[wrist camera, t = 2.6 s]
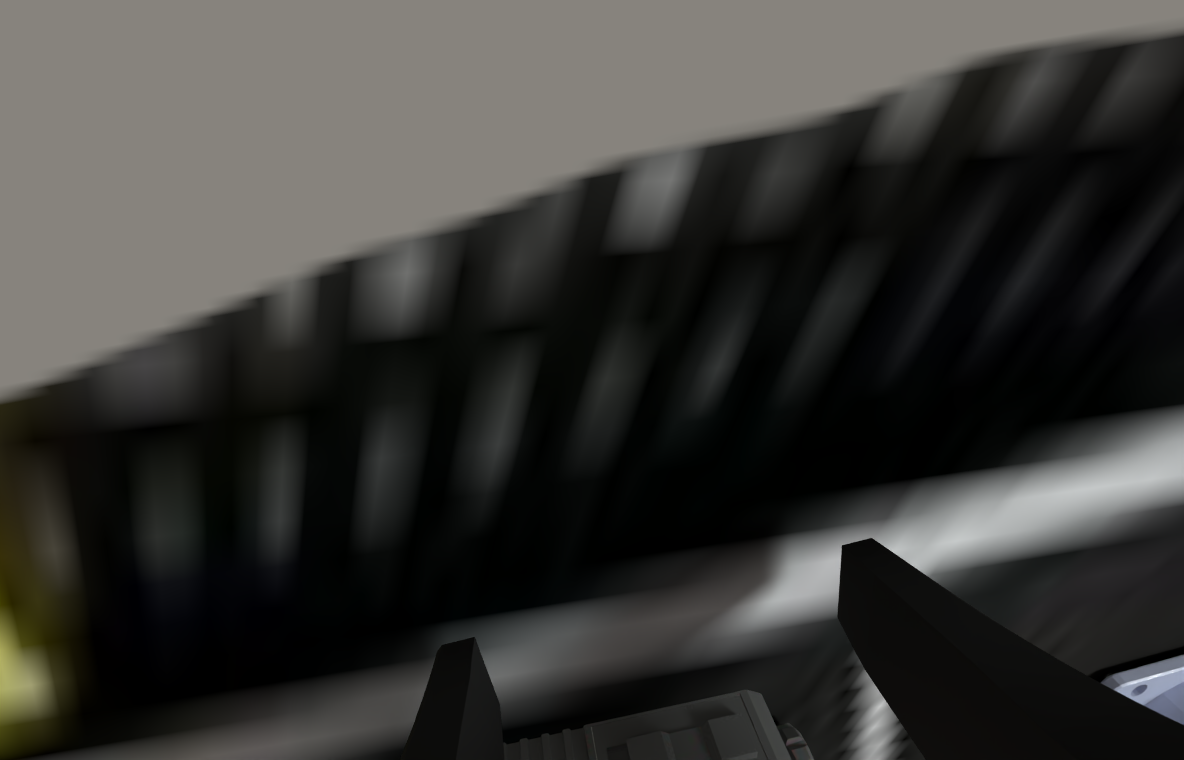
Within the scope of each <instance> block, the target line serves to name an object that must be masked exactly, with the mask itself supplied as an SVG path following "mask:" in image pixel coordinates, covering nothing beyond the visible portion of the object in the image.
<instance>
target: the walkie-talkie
mask: <svg viewBox="0 0 1184 760" xmlns="http://www.w3.org/2000/svg"><path fill="white" fill-rule="evenodd" d="M503 747H504V760H814V759H813V756H812V754H811V752H810V750H809V748H808V745H807V744H806V742H805V740H804V739H803V737H802V735H801V734H800V732H799V731H798V730H797V729H795V728H794V727H793V726H792V725H790V724H789V723H788V724H783V725H779V726H776V725H775V723H774V720H773V718H772V716H771V714H770V712H769V709H768V707H767V705H766V703H765V701H764V699H763V696H762V694H761V693H757V692H754V691H750V690H742V691H738V692H733V693H729V694H724V695H719V696H715V697H710V698H706V699H701V700H697V701H692V702H687V703H683V704H678V705H674V706H669V707H665V708H660V709H655V710H651V711H646V712H642V713H637V714H633V715H628V716H623V717H619V718H614V719H610V720H605V721H601V722H596V723H592V724H587V725H584V726H583V728H580V729H575V730H570V729H564V730H563V731H562V733H557V734H552V735H549V734H548V733H546V734H542V735H541V737H539V738H534V739H530V740H528V739H527V738H523V739H520V741H519V742H516V743H511V744H506V743H503Z"/></svg>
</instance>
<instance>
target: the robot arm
mask: <svg viewBox="0 0 1184 760" xmlns="http://www.w3.org/2000/svg"><path fill="white" fill-rule="evenodd" d="M838 619H839V621H840V623H841V625H842V627H843V629H844V631H845V633H846V635H847V637H848V639H849V641H850V643H851V645H852V647H853V648H854V650H855V652H856V654H857V656H858V658H859V659H860V661H861V663H862V665H863V667H864V669H865V670H866V672H867V673H868V675H869V676H870V678H871V679H872V681H873V682H874V684H875V685H876V687H877V688H878V690H879V691H880V693H881V694H882V696H883V697H884V699H885V700H886V702H887V703H888V705H889V706H890V708H891V709H892V711H893V712H894V713H895V715H896V716H897V718H898V719H899V721H900V722H901V724H902V725H903V727H904V728H905V730H906V731H907V733H908V734H909V735H910V737H911V738H912V740H913V741H914V743H915V744H916V746H917V747H918V749H919V750H920V752H921V753H922V755H923V756H924V758H925V759H926V760H1184V654H1183V655H1179V656H1176V657H1172V658H1169V659H1165V660H1161V661H1158V662H1154V663H1151V664H1147V665H1143V666H1140V667H1136V668H1133V669H1129V670H1125V671H1122V672H1118V673H1115V674H1112V675H1110V676H1108V677H1107V678H1105V679H1104V680H1103V681H1102V682H1098V681H1096V680H1094V679H1092V678H1090V677H1088V676H1087V675H1085V674H1083V673H1081V672H1079V671H1078V670H1076V669H1074V668H1072V667H1070V666H1069V665H1067V664H1065V663H1063V662H1062V661H1060V660H1058V659H1056V658H1055V657H1053V656H1051V655H1050V654H1048V653H1046V652H1045V651H1043V650H1041V649H1040V648H1038V647H1036V646H1034V645H1033V644H1031V643H1029V642H1028V641H1026V640H1024V639H1023V638H1021V637H1019V636H1018V635H1016V634H1015V633H1013V632H1011V631H1010V630H1008V629H1007V628H1005V627H1003V626H1002V625H1000V624H999V623H997V622H995V621H994V620H992V619H991V618H989V617H988V616H986V615H985V614H983V613H982V612H980V611H979V610H977V609H975V608H974V607H972V606H971V605H969V604H968V603H966V602H965V601H963V600H962V599H960V598H959V597H957V596H956V595H954V594H953V593H951V592H950V591H948V590H947V589H945V588H944V587H942V586H941V585H939V584H938V583H936V582H935V581H933V580H932V579H931V578H929V577H928V576H926V575H925V574H923V573H922V572H920V571H919V570H917V569H916V568H915V567H913V566H912V565H910V564H909V563H907V562H906V561H904V560H903V559H902V558H900V557H899V556H897V555H896V554H894V553H893V552H891V551H890V550H889V549H887V548H886V547H884V546H883V545H881V544H880V543H878V542H877V541H875V540H874V539H872V538H870V539H866V540H862V541H858V542H854V543H850V544H846V545H842V555H841V571H840V586H839V602H838ZM400 760H504V747H503V734H502V723H501V712H500V704H499V701H498V699H497V696H496V693H495V690H494V688H493V685H492V682H491V680H490V677H489V674H488V672H487V669H486V666H485V664H484V661H483V658H482V656H481V653H480V650H479V647H478V645H477V642H476V639H475V637H473V638H469V639H465V640H461V641H456V642H452V643H448V644H444V645H442V646H441V647H440V648H439V650H438V651H437V654H436V658H435V661H434V665H433V668H432V671H431V675H430V678H429V681H428V684H427V687H426V690H425V693H424V696H423V699H422V702H421V705H420V708H419V711H418V713H417V716H416V719H415V722H414V725H413V727H412V730H411V733H410V735H409V738H408V740H407V743H406V746H405V748H404V751H403V753H402V756H401V759H400Z"/></svg>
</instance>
